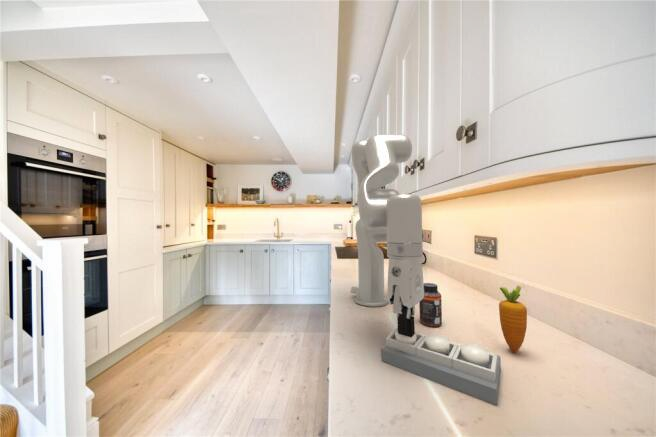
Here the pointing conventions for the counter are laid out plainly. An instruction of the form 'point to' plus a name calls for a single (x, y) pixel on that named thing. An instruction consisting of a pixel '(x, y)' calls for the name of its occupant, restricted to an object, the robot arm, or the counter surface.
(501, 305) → the carrot
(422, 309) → the supplement bottle
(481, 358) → the button right
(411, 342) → the button left
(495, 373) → the panel
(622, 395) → the counter surface
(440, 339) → the button middle
